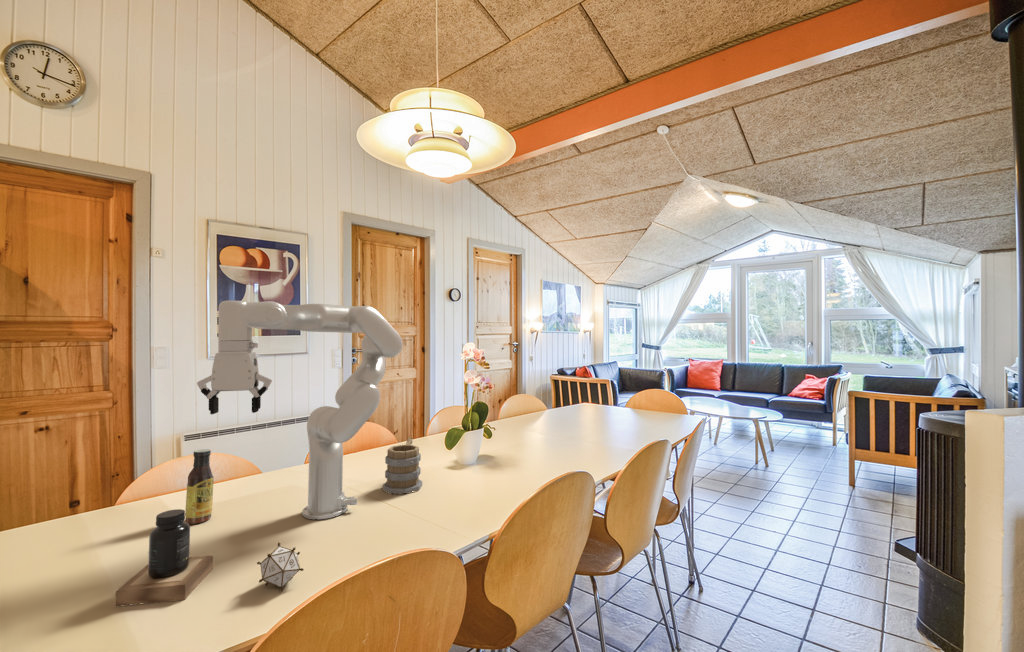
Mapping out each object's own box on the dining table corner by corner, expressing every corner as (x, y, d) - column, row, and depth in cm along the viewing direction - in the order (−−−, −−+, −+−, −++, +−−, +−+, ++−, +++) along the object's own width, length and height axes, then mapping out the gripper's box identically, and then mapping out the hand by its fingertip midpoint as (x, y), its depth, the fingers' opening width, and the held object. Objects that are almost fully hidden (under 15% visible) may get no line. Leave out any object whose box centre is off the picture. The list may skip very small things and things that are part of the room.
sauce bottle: (197, 526, 122) (199, 454, 123) (179, 524, 123) (181, 453, 124) (217, 516, 128) (219, 448, 129) (200, 514, 130) (201, 447, 130)
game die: (274, 600, 94) (271, 551, 100) (312, 584, 95) (308, 536, 100) (248, 600, 87) (246, 547, 92) (290, 583, 87) (286, 532, 93)
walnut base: (212, 568, 100) (213, 554, 100) (184, 599, 88) (185, 583, 88) (152, 574, 97) (152, 559, 97) (115, 606, 86) (115, 590, 86)
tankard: (416, 494, 148) (417, 449, 148) (379, 494, 148) (380, 449, 148) (428, 476, 168) (429, 436, 168) (395, 475, 168) (396, 436, 168)
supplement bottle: (185, 559, 98) (187, 504, 98) (191, 570, 93) (193, 513, 93) (145, 570, 93) (147, 513, 93) (150, 583, 88) (152, 522, 88)
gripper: (275, 346, 121) (275, 408, 121) (204, 347, 117) (204, 411, 117) (266, 347, 114) (266, 413, 114) (191, 348, 110) (190, 416, 110)
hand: (235, 412), depth 115 cm, fingers open, 9 cm apart
